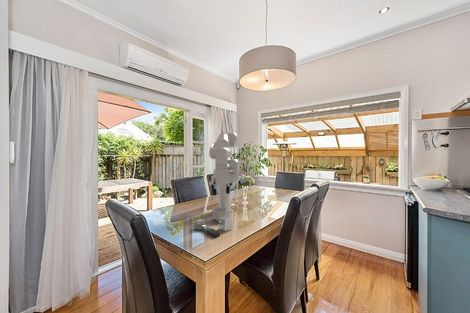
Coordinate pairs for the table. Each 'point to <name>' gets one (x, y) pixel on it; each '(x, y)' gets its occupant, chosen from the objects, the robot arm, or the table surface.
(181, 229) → the table surface
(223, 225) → the wood-topped grey cube
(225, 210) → the teacup
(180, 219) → the table surface
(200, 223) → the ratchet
